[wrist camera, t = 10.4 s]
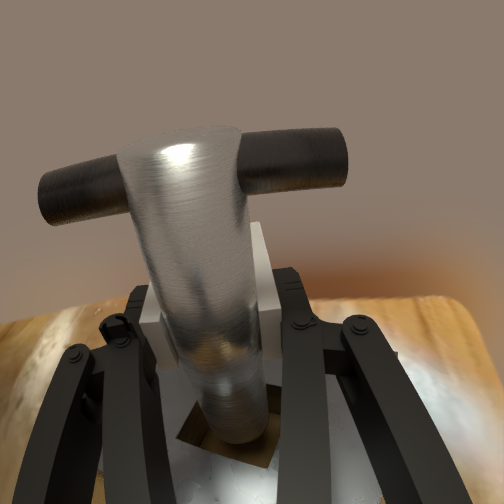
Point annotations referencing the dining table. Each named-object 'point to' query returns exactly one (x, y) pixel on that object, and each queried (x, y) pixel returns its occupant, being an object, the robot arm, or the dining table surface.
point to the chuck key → (202, 242)
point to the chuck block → (245, 475)
